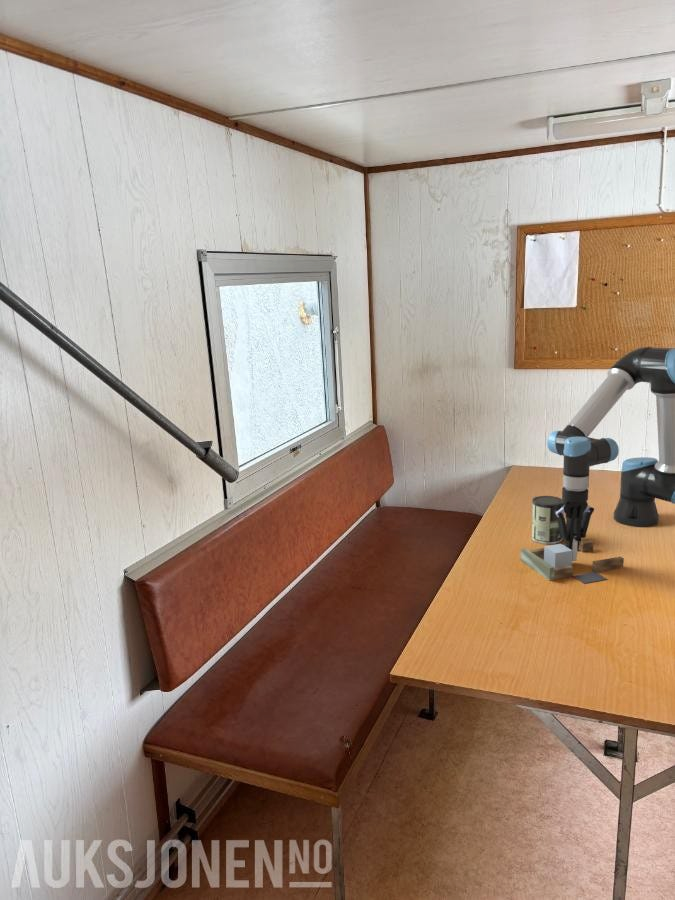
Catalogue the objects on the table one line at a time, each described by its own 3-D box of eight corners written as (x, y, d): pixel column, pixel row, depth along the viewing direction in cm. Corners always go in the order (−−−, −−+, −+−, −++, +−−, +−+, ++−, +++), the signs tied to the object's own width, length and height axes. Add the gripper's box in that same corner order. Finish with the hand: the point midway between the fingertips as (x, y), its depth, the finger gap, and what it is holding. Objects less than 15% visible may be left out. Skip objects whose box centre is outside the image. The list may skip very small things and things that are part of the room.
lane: (590, 548, 221) (590, 537, 220) (623, 567, 206) (623, 555, 205) (520, 560, 214) (520, 548, 213) (549, 580, 199) (549, 568, 198)
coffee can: (560, 534, 235) (562, 495, 231) (563, 545, 225) (565, 505, 222) (530, 532, 237) (531, 495, 234) (532, 543, 227) (533, 504, 224)
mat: (595, 572, 203) (595, 571, 203) (607, 579, 198) (607, 578, 198) (572, 576, 201) (572, 575, 201) (584, 583, 196) (584, 583, 196)
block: (560, 561, 212) (560, 543, 211) (571, 568, 207) (572, 550, 205) (543, 564, 211) (544, 546, 209) (554, 571, 205) (555, 553, 204)
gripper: (585, 481, 209) (582, 552, 215) (549, 486, 206) (547, 558, 211) (601, 488, 202) (597, 560, 208) (564, 493, 199) (561, 567, 204)
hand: (572, 559), depth 210 cm, fingers closed
